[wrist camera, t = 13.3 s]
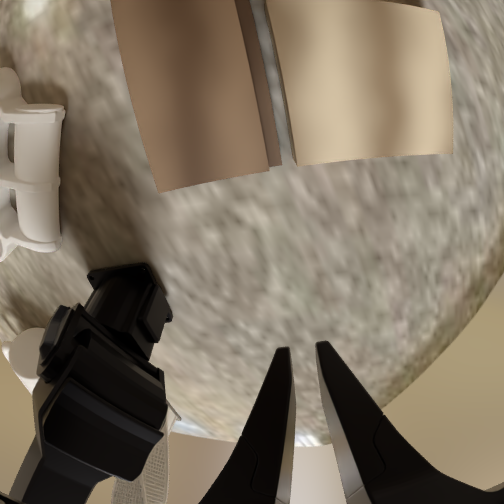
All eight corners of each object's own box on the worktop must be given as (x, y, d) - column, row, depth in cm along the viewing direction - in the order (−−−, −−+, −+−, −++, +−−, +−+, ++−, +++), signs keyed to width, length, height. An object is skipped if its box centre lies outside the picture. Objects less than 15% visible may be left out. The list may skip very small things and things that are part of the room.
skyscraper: (119, 390, 34) (84, 557, 11) (169, 394, 34) (143, 580, 10) (142, 414, 39) (118, 559, 15) (187, 418, 38) (171, 574, 15)
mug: (70, 337, 28) (46, 388, 22) (87, 377, 34) (71, 421, 27) (6, 311, 27) (-21, 352, 20) (28, 353, 32) (9, 391, 26)
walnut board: (167, 182, 18) (158, 193, 16) (113, -71, 6) (102, -80, 5) (280, 159, 17) (283, 168, 16) (217, -104, 6) (214, -117, 4)
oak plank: (292, 158, 17) (297, 166, 16) (264, 9, 12) (266, 0, 10) (437, 146, 16) (452, 153, 14) (423, 15, 11) (438, 11, 9)
